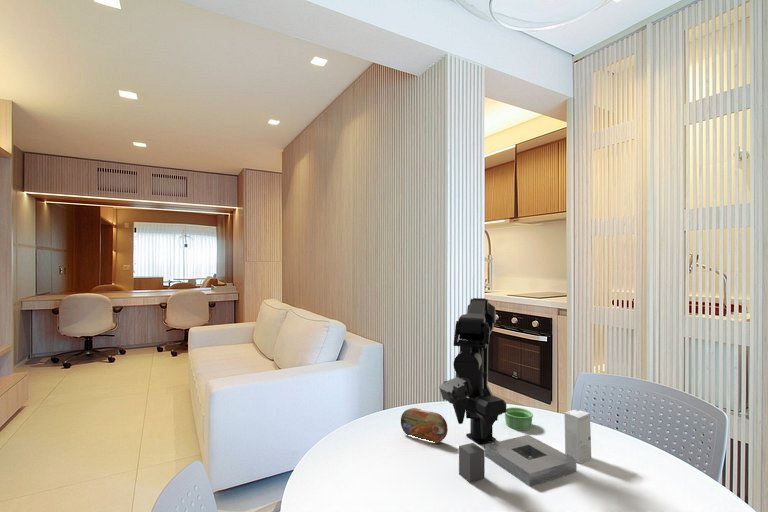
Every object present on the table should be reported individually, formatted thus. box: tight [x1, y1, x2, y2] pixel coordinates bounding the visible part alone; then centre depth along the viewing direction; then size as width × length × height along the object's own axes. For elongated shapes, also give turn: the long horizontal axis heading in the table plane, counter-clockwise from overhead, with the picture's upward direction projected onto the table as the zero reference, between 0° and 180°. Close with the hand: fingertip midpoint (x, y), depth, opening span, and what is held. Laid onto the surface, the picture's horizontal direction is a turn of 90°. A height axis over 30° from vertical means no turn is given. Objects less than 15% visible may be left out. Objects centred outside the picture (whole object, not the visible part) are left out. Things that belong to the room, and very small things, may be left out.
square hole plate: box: [484, 434, 578, 487], centre depth 99 cm, size 16×16×3 cm
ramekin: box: [504, 406, 534, 431], centre depth 124 cm, size 9×9×4 cm
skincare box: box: [564, 408, 592, 464], centre depth 102 cm, size 6×4×12 cm
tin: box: [400, 407, 449, 444], centre depth 113 cm, size 15×3×8 cm, turn 56°
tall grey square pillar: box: [458, 442, 486, 484], centre depth 92 cm, size 4×4×7 cm
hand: (471, 430), depth 93 cm, fingers open, 9 cm apart
